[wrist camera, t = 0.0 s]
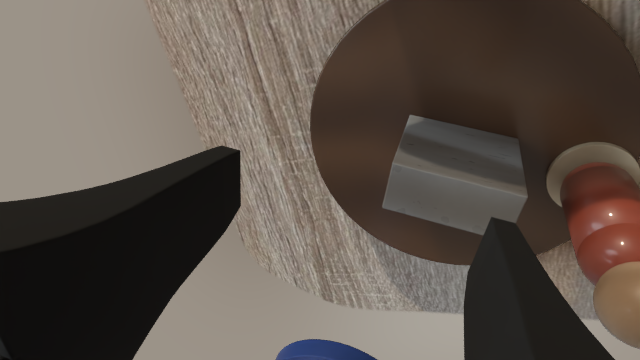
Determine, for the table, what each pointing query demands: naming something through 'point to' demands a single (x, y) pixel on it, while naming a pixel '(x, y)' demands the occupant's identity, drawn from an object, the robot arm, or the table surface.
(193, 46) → the table surface
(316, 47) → the table surface
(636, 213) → the disc
